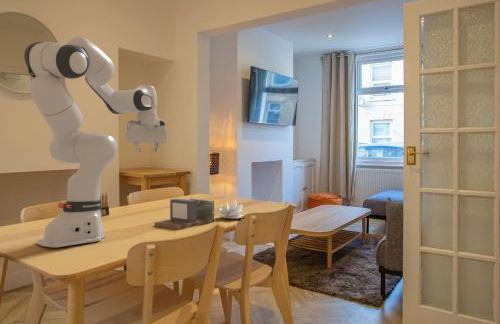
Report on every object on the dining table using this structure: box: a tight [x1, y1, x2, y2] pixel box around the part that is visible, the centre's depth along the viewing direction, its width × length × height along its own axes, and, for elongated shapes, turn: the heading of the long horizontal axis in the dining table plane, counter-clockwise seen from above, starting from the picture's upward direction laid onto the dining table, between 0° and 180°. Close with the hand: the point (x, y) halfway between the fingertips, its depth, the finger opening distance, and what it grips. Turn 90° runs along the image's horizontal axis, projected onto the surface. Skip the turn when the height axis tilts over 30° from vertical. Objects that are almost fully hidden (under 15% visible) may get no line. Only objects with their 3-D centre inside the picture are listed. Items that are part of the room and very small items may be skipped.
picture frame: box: [169, 198, 196, 223], centre depth 158 cm, size 4×12×9 cm, turn 54°
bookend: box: [154, 198, 215, 231], centre depth 159 cm, size 22×14×10 cm, turn 144°
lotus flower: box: [216, 199, 246, 220], centre depth 173 cm, size 14×15×9 cm
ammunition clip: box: [100, 191, 110, 218], centre depth 173 cm, size 11×2×12 cm, turn 150°
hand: (147, 152), depth 164 cm, fingers open, 8 cm apart
